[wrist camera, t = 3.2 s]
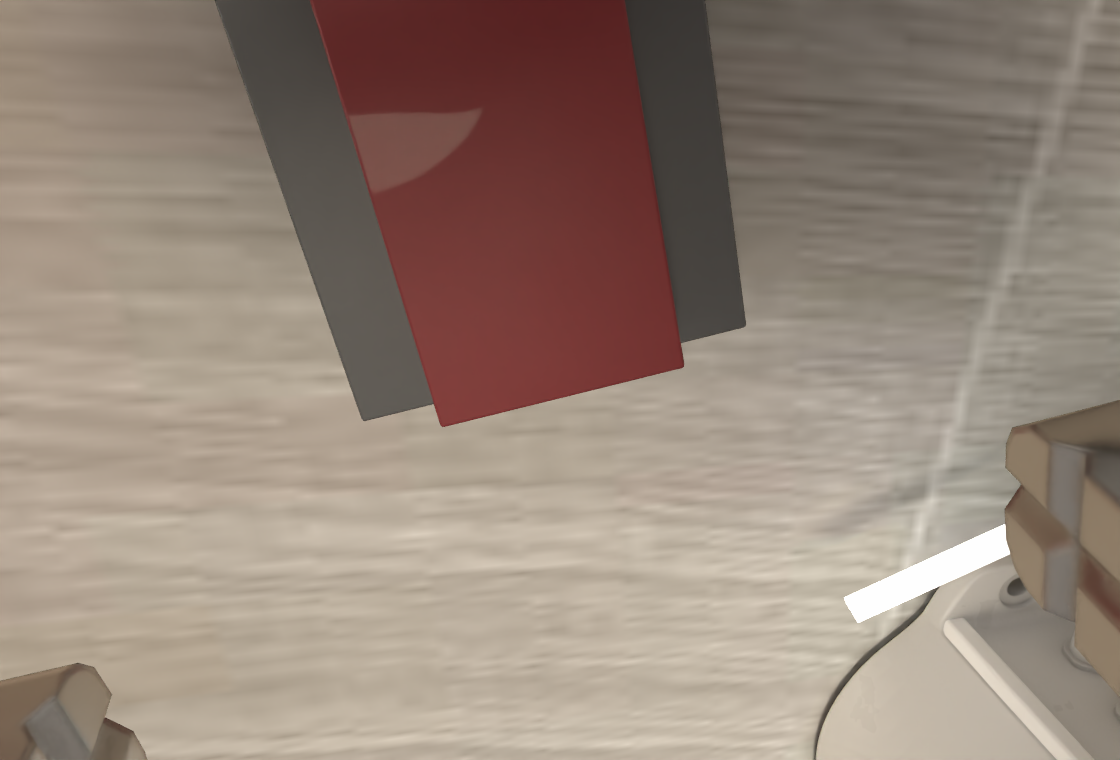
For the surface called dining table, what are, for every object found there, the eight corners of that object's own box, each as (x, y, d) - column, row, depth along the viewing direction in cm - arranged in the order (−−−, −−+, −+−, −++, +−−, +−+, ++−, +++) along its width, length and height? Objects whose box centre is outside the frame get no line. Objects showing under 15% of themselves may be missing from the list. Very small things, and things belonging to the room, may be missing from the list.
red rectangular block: (250, -242, 19) (230, -256, 17) (553, -312, 19) (570, -334, 17) (438, 382, 26) (441, 429, 24) (662, 327, 26) (685, 368, 24)
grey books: (158, -247, 23) (100, -273, 19) (622, -354, 23) (670, -404, 19) (363, 359, 30) (355, 438, 26) (711, 273, 31) (759, 338, 26)
